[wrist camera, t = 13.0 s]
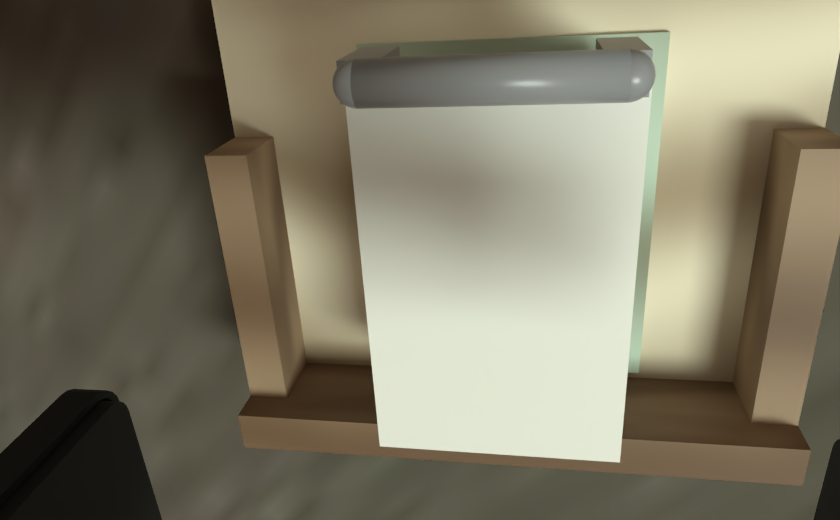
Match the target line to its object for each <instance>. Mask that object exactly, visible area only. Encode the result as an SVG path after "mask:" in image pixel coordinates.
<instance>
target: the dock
mask: <svg viewBox="0 0 840 520" xmlns="http://www.w3.org/2000/svg"><path fill="white" fill-rule="evenodd" d="M211 2H212V8H213V14H214V20H215V25H216V31H217V37H218V43H219V48H220V54H221V60H222V66H223V72H224V77H225V83H226V89H227V95H228V100H229V106H230V112H231V118H232V124H233V129H234V135H235V138H233V139H232V140H230V141H228V142H227V143H225V144H223V145H222V146H220V147H218V148H217V149H215V150H213V151H212V152H210V153H208V154H207V155H205V156H204V158H205V163H206V168H207V173H208V178H209V183H210V188H211V194H212V199H213V204H214V209H215V214H216V219H217V224H218V230H219V235H220V240H221V245H222V250H223V255H224V260H225V266H226V271H227V276H228V281H229V286H230V291H231V296H232V302H233V307H234V312H235V317H236V322H237V327H238V332H239V338H240V343H241V348H242V353H243V358H244V363H245V368H246V374H247V379H248V384H249V389H250V394H251V396H250V398H249V400H248V401H247V403H246V404H245V406H244V407H243V409H242V410H241V412H240V413H239V415H238V418H239V423H240V428H241V433H242V438H243V442H244V447H251V448H265V449H280V450H294V451H309V452H323V453H338V454H352V455H367V456H381V457H396V458H410V459H424V460H439V461H453V462H468V463H482V464H497V465H511V466H526V467H540V468H555V469H569V470H584V471H598V472H612V473H627V474H641V475H656V476H670V477H685V478H699V479H714V480H728V481H743V482H757V483H771V484H786V485H800V486H803V482H804V478H805V474H806V469H807V465H808V461H809V457H810V452H811V449H810V448H809V446H808V444H807V442H806V440H805V438H804V437H803V435H802V433H801V431H800V429H799V427H798V423H799V418H800V414H801V409H802V404H803V400H804V395H805V391H806V386H807V381H808V377H809V372H810V368H811V363H812V359H813V354H814V349H815V345H816V340H817V336H818V331H819V326H820V322H821V317H822V313H823V308H824V304H825V299H826V294H827V290H828V285H829V281H830V276H831V271H832V267H833V262H834V258H835V253H836V248H837V244H838V239H839V235H840V137H839V136H837V135H835V134H834V133H832V132H831V131H829V130H827V129H826V128H825V124H826V119H827V114H828V109H829V103H830V98H831V93H832V88H833V83H834V78H835V73H836V67H837V62H838V57H839V52H840V0H211ZM612 37H639V38H640V39H641V40H642V41H644V42H645V43H646V44H647V45H648V46H649V47H650V48H652V49H653V56H652V61H653V63H654V66H655V70H656V77H655V81H654V84H653V86H652V97H651V109H650V120H649V132H648V144H647V155H646V167H645V178H644V190H643V201H642V213H641V224H640V236H639V248H638V259H637V271H636V282H635V294H634V305H633V317H632V329H631V340H630V352H629V363H628V375H627V386H626V398H625V409H624V421H623V433H622V444H621V456H620V463H619V462H604V461H589V460H575V459H560V458H545V457H530V456H515V455H500V454H486V453H471V452H456V451H441V450H426V449H412V448H397V447H382V446H380V443H379V433H378V424H377V414H376V404H375V394H374V384H373V374H372V364H371V354H370V344H369V334H368V324H367V314H366V304H365V294H364V285H363V275H362V265H361V255H360V245H359V235H358V225H357V215H356V205H355V195H354V185H353V175H352V165H351V155H350V146H349V136H348V126H347V116H346V106H345V105H344V104H340V101H339V100H338V98H337V97H336V95H335V93H334V90H333V83H332V82H333V76H334V73H335V71H336V69H337V65H336V61H337V60H339V59H341V58H342V57H344V56H346V55H348V54H350V53H352V52H354V51H356V50H358V49H360V48H361V47H378V46H399V50H400V57H405V56H433V55H461V54H489V53H517V52H545V51H573V50H595V48H596V38H612Z"/></svg>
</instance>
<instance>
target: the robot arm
mask: <svg viewBox="0 0 840 520" xmlns="http://www.w3.org/2000/svg"><path fill="white" fill-rule="evenodd" d="M0 520H162V518H161V515H160V512H159V508H158V505H157V502H156V499H155V495H154V492H153V489H152V485H151V482H150V479H149V476H148V472H147V469H146V466H145V463H144V459H143V456H142V453H141V449H140V446H139V443H138V440H137V436H136V433H135V430H134V426H133V423H132V420H131V417H130V413H129V410H128V408H127V406H126V405H125V404H124V403H123V402H119V400H118V397H117V396H116V395H115V394H114V393H113V392H110V391H103V390H83V389H72V390H68V391H66V392H65V393H63V394H62V395H61V396H60V397H59V398H58V399H57V400H56V401H55V402H54V403H52V404H51V405H50V406H49V407H48V408H47V409H46V410H45V411H44V412H43V413H42V414H41V415H40V416H39V417H38V418H37V419H36V420H35V421H34V422H33V423H32V424H31V425H30V426H29V427H28V428H27V429H25V430H24V431H23V432H22V433H21V434H20V435H19V436H18V437H17V438H16V439H15V440H14V441H13V442H12V443H11V444H10V445H9V446H8V447H7V448H6V449H5V450H4V451H3V452H2V453H1V454H0ZM814 520H840V439H839V440H837V441H836V442H835V443H834V445H833V448H832V452H831V455H830V459H829V463H828V467H827V471H826V474H825V478H824V482H823V486H822V490H821V494H820V497H819V501H818V505H817V509H816V513H815V517H814Z"/></svg>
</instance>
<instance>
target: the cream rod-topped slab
mask: <svg viewBox="0 0 840 520" xmlns="http://www.w3.org/2000/svg"><path fill="white" fill-rule="evenodd" d="M652 56H653V49H652V48H650V47H649V46H648V45H647V44H646V43H645V42H644V41H642V40H641V39H640V38H639V37H612V38H596V48H595V50H573V51H545V52H517V53H489V54H461V55H433V56H405V57H400V50H399V46H378V47H361V48H360V49H358V50H356V51H354V52H352V53H350V54H348V55H346V56H344V57H342V58H341V59H339V60H337V61H336V65H337V69H336V71H335V73H334V76H333V82H332V83H333V90H334V93H335V95H336V97H337V98H338V100H339V101H340V104H344V105H345V106H346V116H347V126H348V136H349V146H350V155H351V165H352V175H353V185H354V195H355V205H356V215H357V225H358V235H359V245H360V255H361V265H362V275H363V285H364V294H365V304H366V314H367V324H368V334H369V344H370V354H371V364H372V374H373V384H374V394H375V404H376V414H377V424H378V433H379V443H380V446H382V447H397V448H412V449H426V450H441V451H456V452H471V453H486V454H500V455H515V456H530V457H545V458H560V459H575V460H589V461H604V462H619V463H620V456H621V444H622V433H623V421H624V409H625V398H626V386H627V375H628V363H629V352H630V340H631V329H632V317H633V305H634V294H635V282H636V271H637V259H638V248H639V236H640V224H641V213H642V201H643V190H644V178H645V167H646V155H647V144H648V132H649V120H650V109H651V97H652V86H653V84H654V81H655V77H656V70H655V66H654V63H653V61H652Z"/></svg>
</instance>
